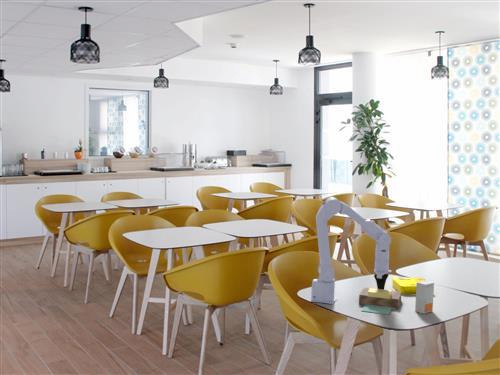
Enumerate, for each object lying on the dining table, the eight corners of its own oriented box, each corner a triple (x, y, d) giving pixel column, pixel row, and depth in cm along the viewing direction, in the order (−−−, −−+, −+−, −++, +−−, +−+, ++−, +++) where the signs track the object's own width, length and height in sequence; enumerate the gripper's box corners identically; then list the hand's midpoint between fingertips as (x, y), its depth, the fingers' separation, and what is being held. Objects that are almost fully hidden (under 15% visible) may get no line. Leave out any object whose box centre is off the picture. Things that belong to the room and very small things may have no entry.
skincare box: (423, 314, 219) (425, 284, 218) (414, 311, 223) (416, 282, 222) (433, 311, 223) (434, 282, 222) (424, 308, 226) (425, 280, 225)
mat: (361, 311, 222) (361, 310, 222) (364, 304, 230) (364, 304, 230) (389, 314, 218) (389, 313, 218) (391, 308, 226) (392, 307, 226)
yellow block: (367, 296, 228) (367, 291, 228) (369, 292, 234) (370, 288, 234) (389, 299, 225) (390, 294, 225) (391, 295, 231) (391, 290, 231)
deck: (358, 304, 231) (359, 294, 231) (363, 296, 242) (363, 287, 242) (398, 308, 225) (398, 299, 225) (401, 300, 237) (401, 291, 236)
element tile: (400, 295, 247) (401, 285, 246) (391, 286, 261) (391, 276, 261) (433, 295, 247) (434, 285, 247) (422, 286, 262) (422, 276, 261)
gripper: (389, 264, 224) (388, 296, 225) (393, 257, 237) (392, 287, 239) (372, 262, 226) (370, 294, 228) (376, 255, 240) (375, 286, 241)
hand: (380, 291), depth 233 cm, fingers closed
